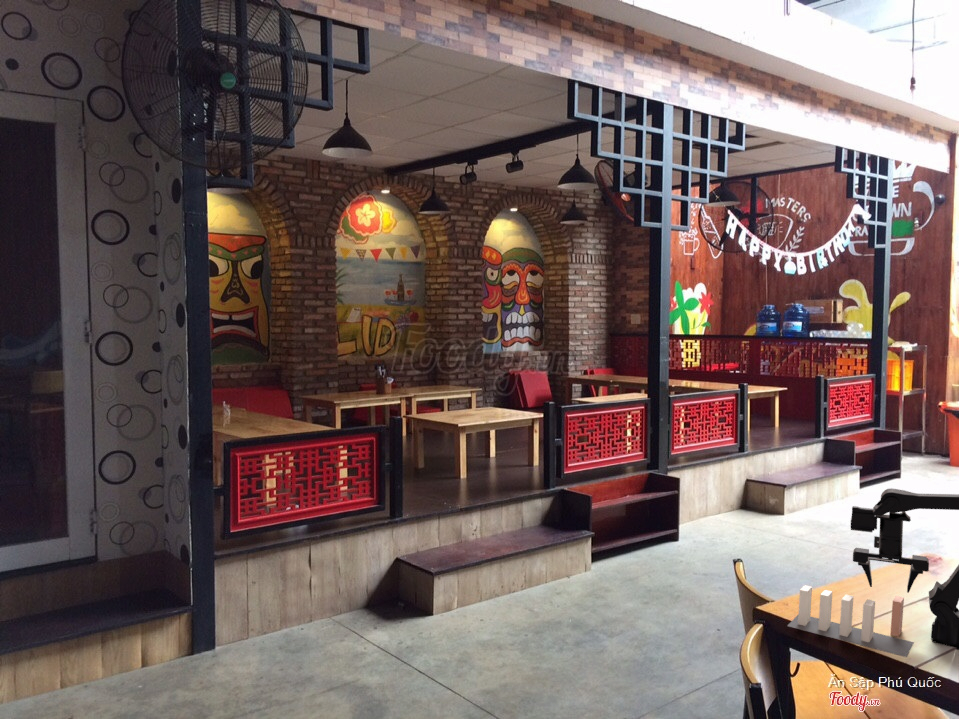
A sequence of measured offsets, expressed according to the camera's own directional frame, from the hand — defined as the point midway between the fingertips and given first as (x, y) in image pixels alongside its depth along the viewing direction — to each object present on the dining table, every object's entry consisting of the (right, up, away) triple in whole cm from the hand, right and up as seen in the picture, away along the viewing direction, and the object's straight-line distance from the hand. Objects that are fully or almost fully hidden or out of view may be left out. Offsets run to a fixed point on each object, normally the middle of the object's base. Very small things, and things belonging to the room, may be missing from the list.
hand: (889, 589), depth 219 cm
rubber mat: (-13, -12, -3) cm, 18 cm away
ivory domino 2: (-18, -11, +1) cm, 21 cm away
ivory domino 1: (-22, -11, +4) cm, 25 cm away
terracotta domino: (+1, -12, -1) cm, 12 cm away
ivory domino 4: (-9, -12, -6) cm, 16 cm away
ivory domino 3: (-14, -11, -3) cm, 18 cm away
